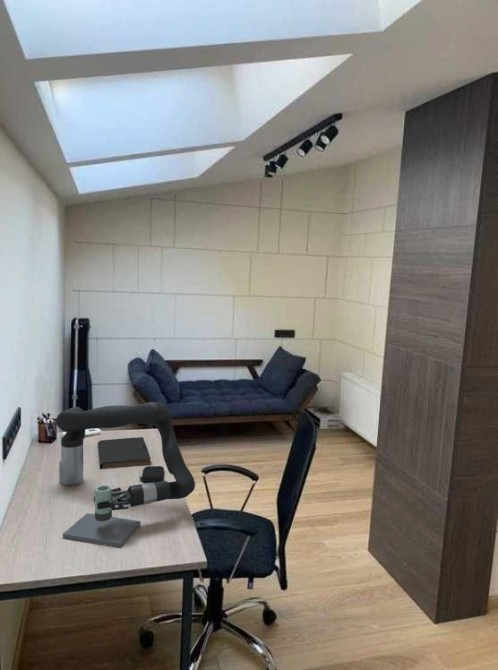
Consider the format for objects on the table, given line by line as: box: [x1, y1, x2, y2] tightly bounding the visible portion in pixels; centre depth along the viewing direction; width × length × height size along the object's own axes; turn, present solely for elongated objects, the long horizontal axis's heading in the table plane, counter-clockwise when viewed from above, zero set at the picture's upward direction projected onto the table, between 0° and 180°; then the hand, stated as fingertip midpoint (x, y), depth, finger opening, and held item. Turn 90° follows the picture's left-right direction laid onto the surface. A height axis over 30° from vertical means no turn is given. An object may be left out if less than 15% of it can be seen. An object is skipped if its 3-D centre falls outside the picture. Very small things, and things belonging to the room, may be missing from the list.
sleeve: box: [94, 484, 113, 521], centre depth 180 cm, size 6×6×11 cm
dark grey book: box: [97, 436, 151, 470], centre depth 257 cm, size 33×4×24 cm
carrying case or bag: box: [139, 465, 165, 484], centre depth 231 cm, size 11×3×15 cm
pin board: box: [62, 512, 141, 548], centre depth 181 cm, size 22×16×6 cm
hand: (95, 502), depth 179 cm, fingers closed on sleeve, 5 cm apart
